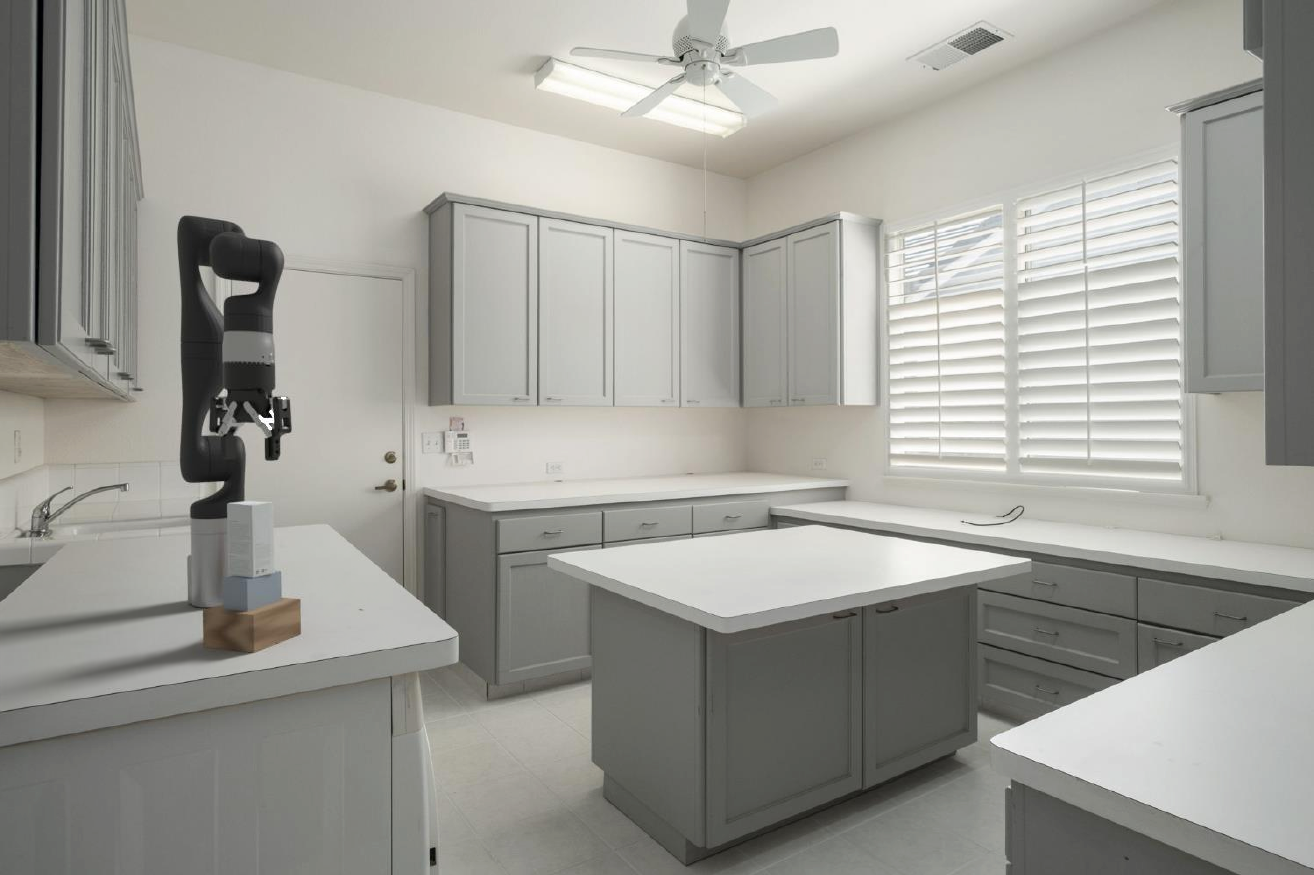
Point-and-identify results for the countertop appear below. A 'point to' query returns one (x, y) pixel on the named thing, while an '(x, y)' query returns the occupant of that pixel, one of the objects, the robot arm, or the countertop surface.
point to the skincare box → (250, 538)
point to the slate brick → (251, 591)
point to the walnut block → (251, 626)
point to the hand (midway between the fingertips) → (250, 459)
